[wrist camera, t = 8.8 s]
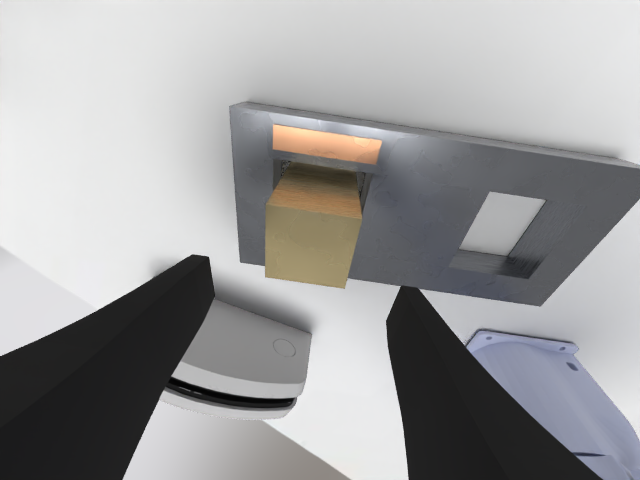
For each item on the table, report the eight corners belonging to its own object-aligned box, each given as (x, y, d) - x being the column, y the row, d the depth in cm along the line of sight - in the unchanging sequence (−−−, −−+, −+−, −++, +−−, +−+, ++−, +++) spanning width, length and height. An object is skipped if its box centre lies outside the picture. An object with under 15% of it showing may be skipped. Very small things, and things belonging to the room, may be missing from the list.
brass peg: (354, 166, 16) (362, 219, 10) (343, 220, 18) (344, 288, 12) (293, 157, 16) (265, 204, 10) (289, 212, 18) (265, 276, 12)
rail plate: (617, 158, 14) (668, 173, 12) (519, 282, 20) (542, 308, 18) (245, 102, 14) (227, 106, 12) (250, 242, 20) (239, 264, 18)
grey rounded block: (147, 308, 25) (54, 391, 16) (160, 268, 24) (70, 332, 15) (295, 358, 29) (293, 453, 19) (313, 325, 28) (320, 408, 18)
